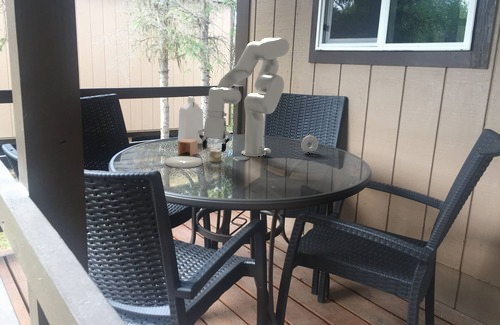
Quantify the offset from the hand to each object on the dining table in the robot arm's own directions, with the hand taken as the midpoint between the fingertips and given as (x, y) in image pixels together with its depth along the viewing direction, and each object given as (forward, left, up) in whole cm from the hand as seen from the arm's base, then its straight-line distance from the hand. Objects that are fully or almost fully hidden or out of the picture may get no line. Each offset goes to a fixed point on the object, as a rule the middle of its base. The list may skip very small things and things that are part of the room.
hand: (213, 150), depth 200 cm
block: (0, -1, -5) cm, 5 cm away
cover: (+17, -7, -5) cm, 19 cm away
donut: (-38, -40, -5) cm, 56 cm away
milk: (+31, -36, -5) cm, 47 cm away
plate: (+11, +11, -5) cm, 16 cm away
